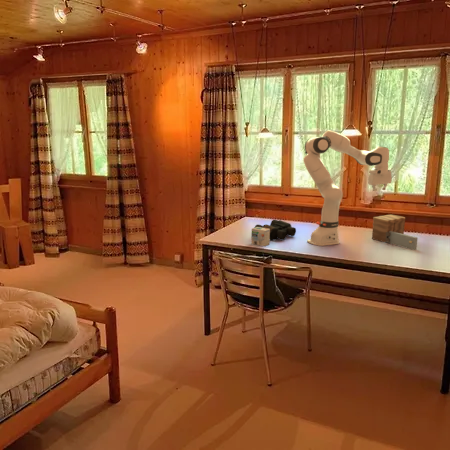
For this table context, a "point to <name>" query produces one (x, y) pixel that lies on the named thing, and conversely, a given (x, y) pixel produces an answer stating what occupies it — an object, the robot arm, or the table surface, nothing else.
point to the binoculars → (279, 229)
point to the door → (403, 240)
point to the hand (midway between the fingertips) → (379, 190)
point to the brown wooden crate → (387, 226)
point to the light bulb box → (260, 236)
